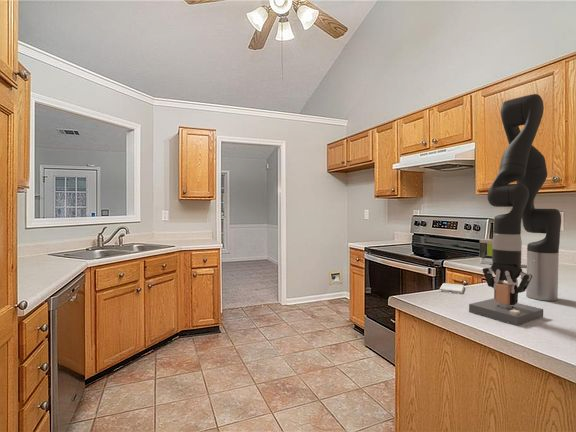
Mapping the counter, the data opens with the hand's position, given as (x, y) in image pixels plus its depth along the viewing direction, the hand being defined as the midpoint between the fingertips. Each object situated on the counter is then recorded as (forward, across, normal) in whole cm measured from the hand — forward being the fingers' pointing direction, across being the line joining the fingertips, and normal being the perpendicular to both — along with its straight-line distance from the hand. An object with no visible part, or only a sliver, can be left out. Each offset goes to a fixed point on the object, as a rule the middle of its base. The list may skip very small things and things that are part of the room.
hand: (505, 302), depth 101 cm
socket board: (+4, 0, 0) cm, 4 cm away
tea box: (+4, +54, -96) cm, 110 cm away
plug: (+2, 0, 0) cm, 2 cm away
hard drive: (+4, +28, -15) cm, 32 cm away
